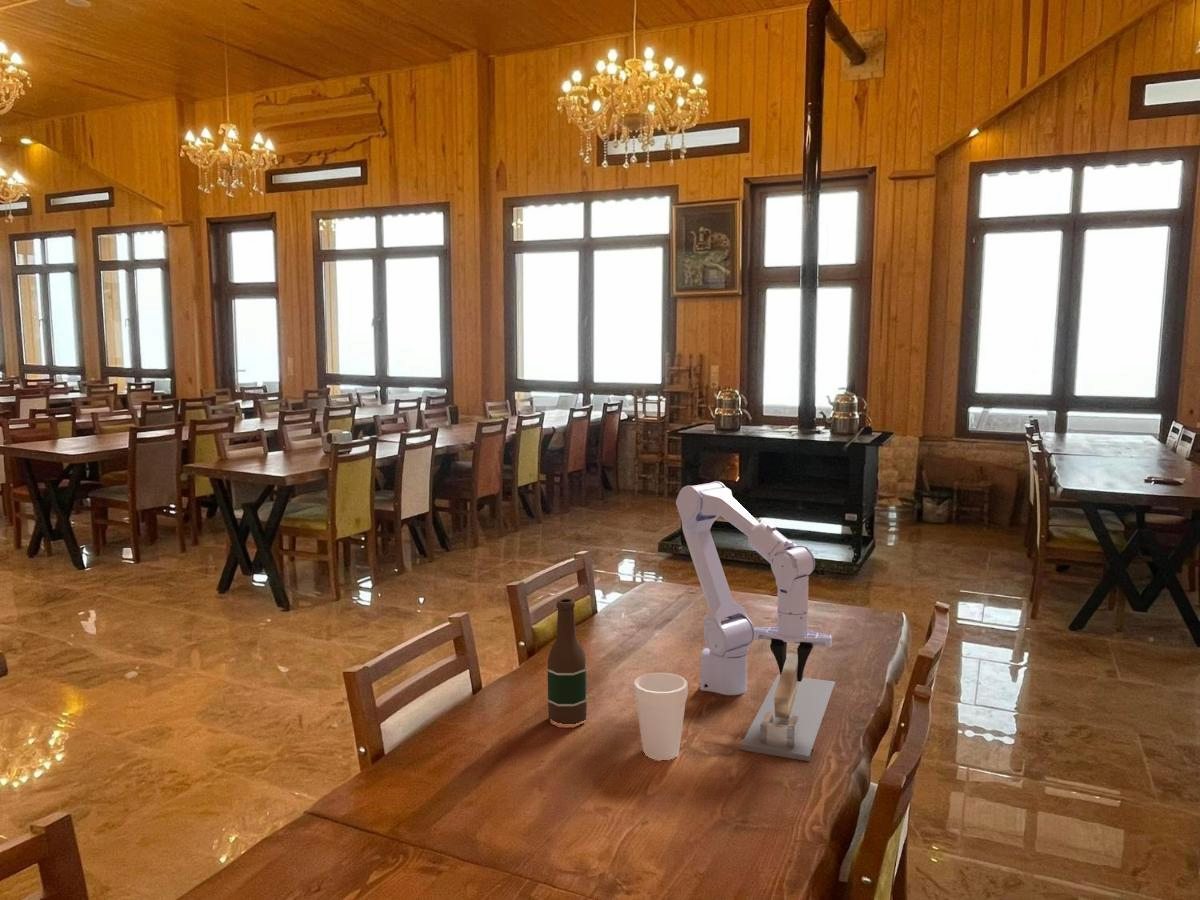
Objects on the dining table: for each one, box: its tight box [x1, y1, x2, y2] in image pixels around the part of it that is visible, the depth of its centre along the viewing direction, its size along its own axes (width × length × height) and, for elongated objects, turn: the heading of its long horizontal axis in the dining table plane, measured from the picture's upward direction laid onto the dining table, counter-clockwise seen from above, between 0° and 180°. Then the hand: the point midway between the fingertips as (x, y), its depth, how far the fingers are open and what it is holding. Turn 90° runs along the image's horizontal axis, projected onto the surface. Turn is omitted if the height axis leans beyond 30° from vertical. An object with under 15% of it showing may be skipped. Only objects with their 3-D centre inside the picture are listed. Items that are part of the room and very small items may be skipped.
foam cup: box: [633, 671, 689, 761], centre depth 151 cm, size 10×9×13 cm
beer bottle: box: [546, 598, 588, 724], centre depth 164 cm, size 8×8×24 cm
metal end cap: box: [760, 712, 799, 748], centre depth 154 cm, size 6×6×4 cm
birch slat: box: [774, 653, 799, 719], centre depth 161 cm, size 2×14×4 cm, turn 158°
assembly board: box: [740, 673, 836, 762], centre depth 166 cm, size 12×35×1 cm, turn 158°
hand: (791, 678), depth 164 cm, fingers closed on birch slat, 2 cm apart
